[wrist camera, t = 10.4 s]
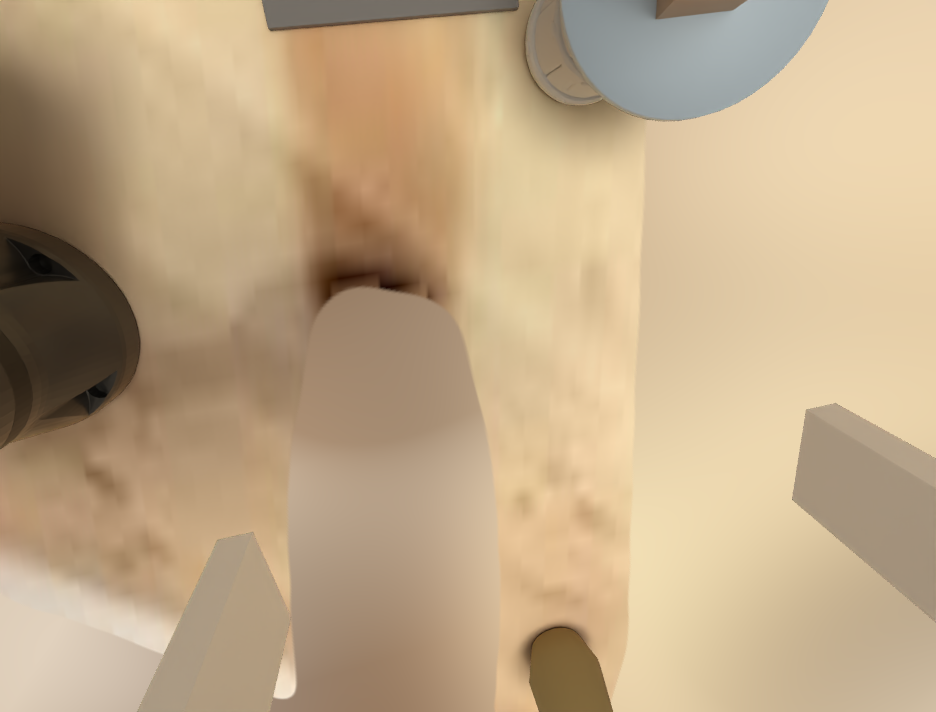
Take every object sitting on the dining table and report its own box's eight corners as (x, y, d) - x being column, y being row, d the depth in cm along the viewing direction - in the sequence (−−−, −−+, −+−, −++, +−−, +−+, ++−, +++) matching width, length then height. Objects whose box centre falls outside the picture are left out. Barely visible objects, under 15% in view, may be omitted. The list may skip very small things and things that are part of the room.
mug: (509, -7, 31) (566, -103, 20) (682, -52, 31) (834, -173, 20) (531, 120, 34) (591, 98, 23) (688, 77, 34) (824, 35, 23)
